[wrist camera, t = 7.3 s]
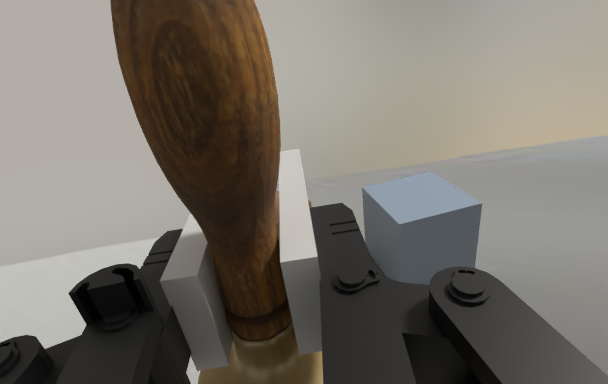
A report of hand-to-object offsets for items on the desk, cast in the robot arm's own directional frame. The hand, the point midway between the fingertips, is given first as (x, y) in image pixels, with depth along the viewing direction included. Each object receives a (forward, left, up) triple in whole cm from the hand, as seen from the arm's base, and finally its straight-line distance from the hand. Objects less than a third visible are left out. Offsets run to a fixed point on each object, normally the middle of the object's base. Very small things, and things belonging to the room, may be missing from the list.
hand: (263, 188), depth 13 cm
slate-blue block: (-10, -1, -10) cm, 14 cm away
